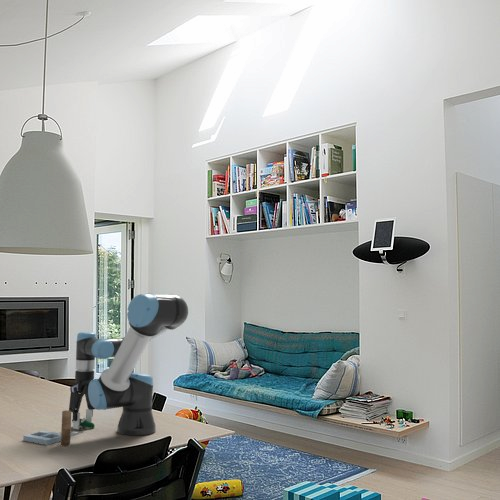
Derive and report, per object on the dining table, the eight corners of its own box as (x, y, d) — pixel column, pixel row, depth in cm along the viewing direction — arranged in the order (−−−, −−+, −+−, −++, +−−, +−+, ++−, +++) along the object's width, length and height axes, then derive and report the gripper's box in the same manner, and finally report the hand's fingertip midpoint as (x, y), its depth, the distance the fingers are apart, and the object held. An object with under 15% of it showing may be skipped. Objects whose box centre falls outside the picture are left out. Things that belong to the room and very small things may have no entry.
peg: (71, 444, 225) (73, 411, 226) (65, 446, 222) (67, 412, 223) (65, 443, 226) (66, 410, 227) (58, 445, 224) (60, 411, 224)
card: (83, 432, 243) (83, 432, 243) (65, 437, 235) (65, 437, 235) (74, 430, 246) (74, 430, 246) (56, 435, 237) (57, 435, 237)
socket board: (67, 439, 232) (67, 434, 232) (46, 445, 223) (47, 440, 223) (43, 435, 237) (43, 430, 237) (23, 440, 229) (23, 435, 229)
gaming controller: (76, 429, 255) (68, 420, 252) (82, 422, 257) (74, 413, 254) (90, 433, 249) (82, 424, 246) (96, 425, 252) (88, 416, 249)
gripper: (94, 366, 264) (91, 421, 262) (60, 371, 246) (57, 430, 245) (107, 368, 260) (105, 423, 259) (74, 373, 243) (72, 433, 242)
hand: (82, 427), depth 252 cm, fingers closed on gaming controller, 6 cm apart
